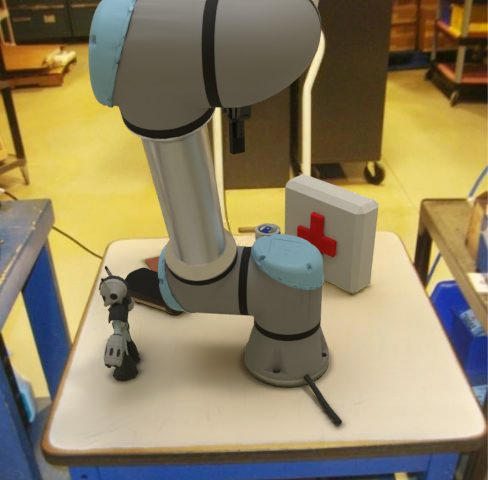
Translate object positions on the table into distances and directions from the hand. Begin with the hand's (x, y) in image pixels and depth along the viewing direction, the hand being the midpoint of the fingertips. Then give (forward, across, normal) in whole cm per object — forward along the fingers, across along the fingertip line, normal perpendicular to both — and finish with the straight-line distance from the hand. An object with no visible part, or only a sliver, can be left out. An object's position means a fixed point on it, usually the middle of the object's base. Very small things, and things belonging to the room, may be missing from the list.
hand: (237, 152), depth 124 cm
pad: (+27, +10, +8) cm, 30 cm away
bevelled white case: (+27, -12, -14) cm, 33 cm away
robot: (+27, -21, +34) cm, 49 cm away
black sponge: (+27, -3, +21) cm, 34 cm away
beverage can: (+27, -12, 0) cm, 30 cm away
